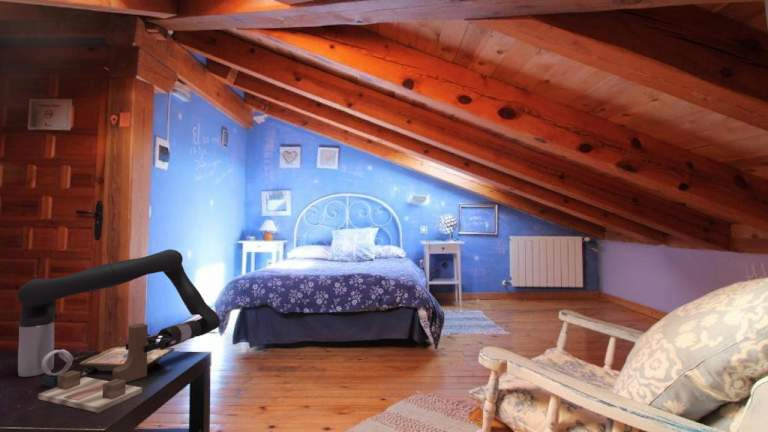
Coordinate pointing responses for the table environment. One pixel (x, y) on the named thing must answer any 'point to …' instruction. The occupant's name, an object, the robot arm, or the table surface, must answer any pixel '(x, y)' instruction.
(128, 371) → the wooden block
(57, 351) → the watch
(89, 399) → the striped wooden base
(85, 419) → the table surface
